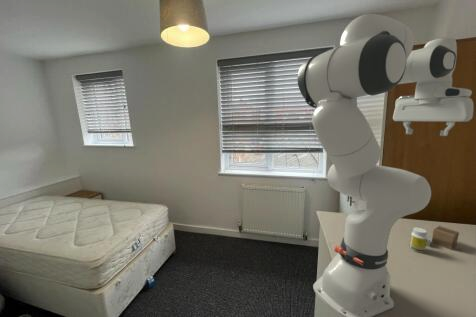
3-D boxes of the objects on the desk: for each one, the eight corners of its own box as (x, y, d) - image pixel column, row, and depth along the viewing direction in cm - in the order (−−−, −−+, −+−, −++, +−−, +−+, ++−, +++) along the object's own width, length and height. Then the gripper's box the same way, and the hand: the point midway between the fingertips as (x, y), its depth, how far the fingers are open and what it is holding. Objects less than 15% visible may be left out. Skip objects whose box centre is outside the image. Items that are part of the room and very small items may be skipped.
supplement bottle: (427, 253, 80) (431, 233, 78) (413, 252, 81) (417, 232, 79) (419, 246, 85) (423, 227, 83) (406, 245, 86) (409, 226, 84)
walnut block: (451, 250, 82) (453, 236, 81) (431, 242, 87) (433, 229, 86) (456, 245, 85) (459, 232, 84) (437, 238, 90) (439, 225, 89)
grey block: (429, 247, 84) (430, 240, 84) (416, 243, 87) (417, 236, 86) (430, 243, 87) (431, 236, 86) (417, 239, 90) (418, 233, 89)
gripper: (392, 96, 77) (387, 133, 79) (472, 89, 59) (463, 137, 62) (400, 96, 80) (395, 132, 82) (479, 90, 62) (470, 136, 65)
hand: (425, 134), depth 72 cm, fingers open, 8 cm apart
